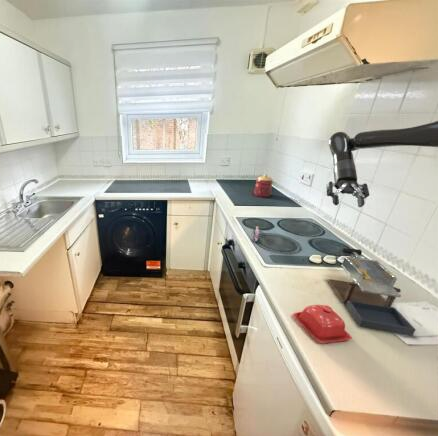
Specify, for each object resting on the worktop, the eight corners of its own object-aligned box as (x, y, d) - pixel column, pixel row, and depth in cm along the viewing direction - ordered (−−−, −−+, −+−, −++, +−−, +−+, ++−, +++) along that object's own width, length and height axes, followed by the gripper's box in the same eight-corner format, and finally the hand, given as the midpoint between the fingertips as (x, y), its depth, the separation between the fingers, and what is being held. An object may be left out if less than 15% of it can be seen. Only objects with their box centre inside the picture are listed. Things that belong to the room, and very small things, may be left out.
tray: (392, 313, 79) (395, 307, 78) (412, 336, 70) (415, 329, 69) (345, 305, 82) (347, 300, 81) (359, 326, 74) (362, 320, 73)
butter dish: (321, 312, 79) (328, 292, 76) (353, 342, 68) (363, 320, 65) (289, 316, 78) (296, 295, 74) (317, 347, 67) (326, 324, 64)
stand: (327, 281, 94) (334, 262, 91) (369, 287, 91) (378, 268, 87) (342, 303, 83) (350, 283, 80) (391, 311, 80) (401, 290, 76)
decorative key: (256, 233, 140) (256, 243, 122) (254, 233, 140) (254, 242, 122) (259, 222, 138) (259, 230, 120) (256, 222, 139) (256, 230, 121)
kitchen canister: (262, 198, 192) (266, 176, 185) (250, 194, 203) (253, 173, 196) (273, 196, 197) (278, 175, 190) (261, 192, 208) (264, 172, 201)
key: (355, 269, 87) (356, 267, 87) (364, 270, 86) (364, 269, 86) (364, 278, 81) (365, 277, 81) (373, 280, 81) (374, 279, 81)
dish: (333, 256, 96) (336, 246, 94) (362, 260, 94) (366, 249, 92) (362, 291, 77) (367, 279, 75) (400, 297, 74) (406, 284, 72)
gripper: (330, 166, 102) (333, 199, 96) (369, 168, 99) (375, 203, 93) (322, 176, 109) (324, 207, 103) (358, 178, 105) (363, 210, 100)
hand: (348, 205), depth 98 cm, fingers open, 8 cm apart
